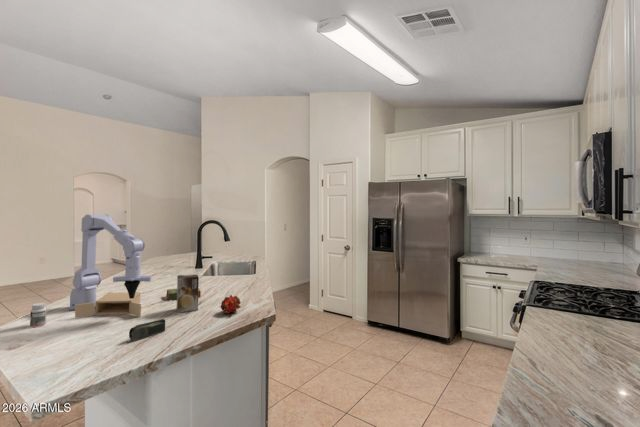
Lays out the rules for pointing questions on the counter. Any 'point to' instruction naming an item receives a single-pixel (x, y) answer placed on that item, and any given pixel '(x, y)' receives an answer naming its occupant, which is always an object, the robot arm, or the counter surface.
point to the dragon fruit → (230, 304)
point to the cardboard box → (115, 303)
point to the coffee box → (187, 292)
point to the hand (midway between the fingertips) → (131, 297)
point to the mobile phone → (146, 330)
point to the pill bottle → (38, 315)
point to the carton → (173, 294)
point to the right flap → (135, 309)
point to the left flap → (84, 309)
